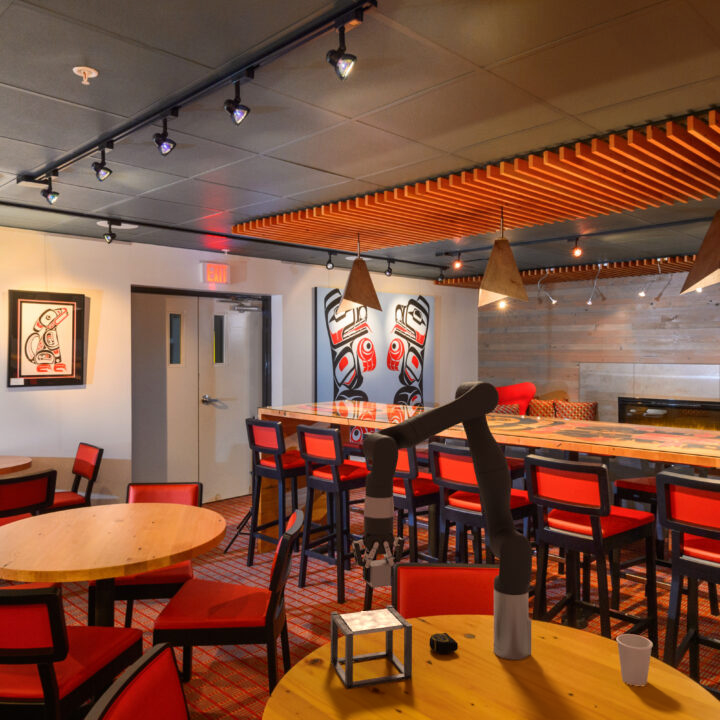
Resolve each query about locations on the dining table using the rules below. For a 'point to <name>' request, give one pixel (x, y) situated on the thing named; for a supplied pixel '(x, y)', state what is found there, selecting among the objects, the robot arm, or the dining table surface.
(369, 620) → the trapdoor
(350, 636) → the frame
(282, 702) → the dining table surface
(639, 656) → the dixie cup
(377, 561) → the gray cube
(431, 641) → the tape measure
